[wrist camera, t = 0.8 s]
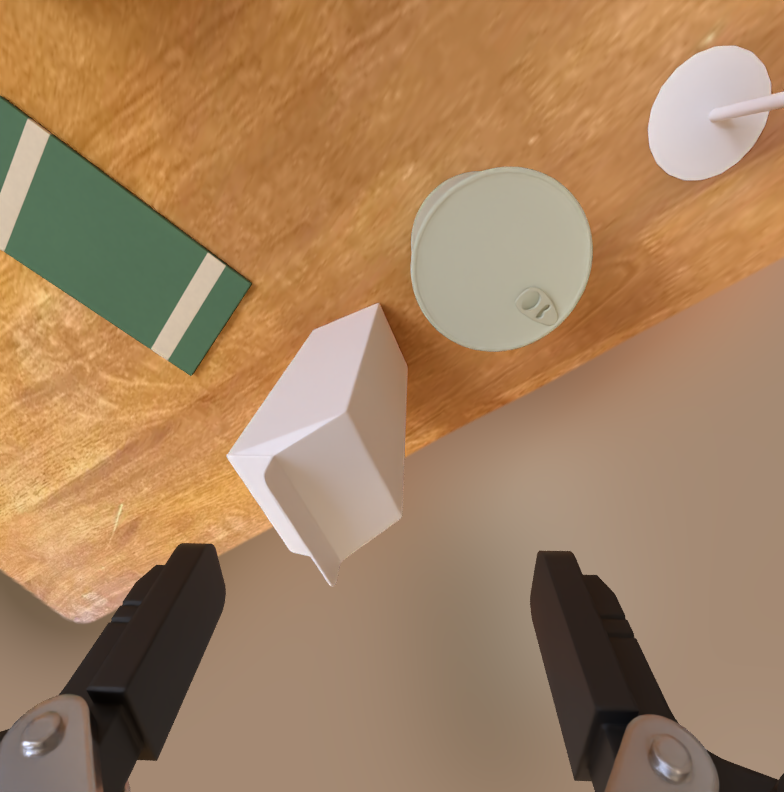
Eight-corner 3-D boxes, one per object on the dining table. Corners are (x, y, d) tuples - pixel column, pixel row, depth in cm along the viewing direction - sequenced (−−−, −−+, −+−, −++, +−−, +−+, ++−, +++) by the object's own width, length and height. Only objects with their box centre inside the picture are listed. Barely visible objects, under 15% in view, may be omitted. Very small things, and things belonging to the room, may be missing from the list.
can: (472, 327, 36) (497, 388, 25) (385, 246, 34) (371, 276, 23) (564, 235, 33) (638, 261, 22) (475, 140, 30) (508, 115, 20)
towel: (0, 95, 31) (-5, 93, 30) (252, 283, 35) (250, 284, 35) (-41, 218, 34) (-46, 218, 34) (192, 374, 39) (190, 376, 38)
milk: (379, 301, 36) (337, 448, 16) (408, 367, 38) (405, 571, 18) (311, 330, 37) (190, 500, 17) (343, 392, 39) (271, 609, 19)
